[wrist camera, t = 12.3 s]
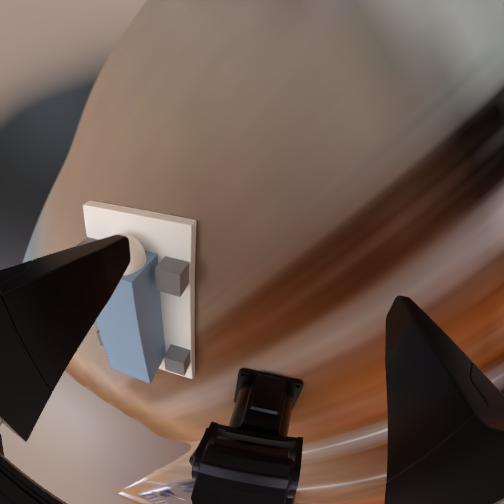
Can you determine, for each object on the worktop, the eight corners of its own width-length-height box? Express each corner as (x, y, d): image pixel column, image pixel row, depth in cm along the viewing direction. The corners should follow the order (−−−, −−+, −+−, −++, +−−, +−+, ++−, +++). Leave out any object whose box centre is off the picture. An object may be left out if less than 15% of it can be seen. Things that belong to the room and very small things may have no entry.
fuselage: (166, 354, 28) (150, 383, 25) (129, 341, 29) (111, 368, 25) (156, 230, 21) (128, 257, 18) (109, 220, 22) (78, 243, 18)
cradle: (195, 372, 30) (186, 391, 28) (117, 345, 32) (105, 361, 29) (196, 219, 21) (181, 236, 19) (90, 200, 22) (69, 213, 20)
